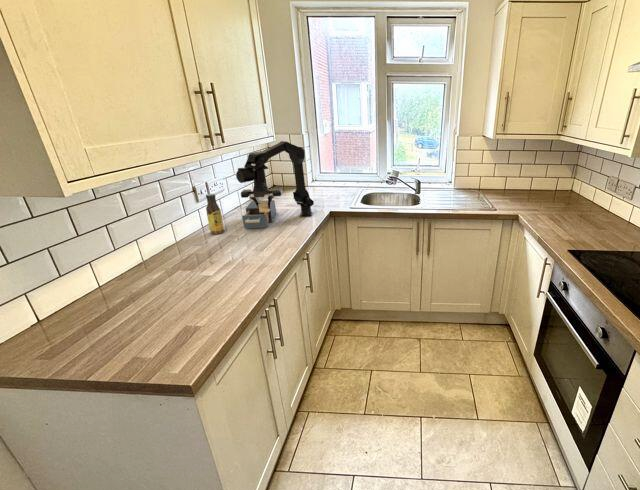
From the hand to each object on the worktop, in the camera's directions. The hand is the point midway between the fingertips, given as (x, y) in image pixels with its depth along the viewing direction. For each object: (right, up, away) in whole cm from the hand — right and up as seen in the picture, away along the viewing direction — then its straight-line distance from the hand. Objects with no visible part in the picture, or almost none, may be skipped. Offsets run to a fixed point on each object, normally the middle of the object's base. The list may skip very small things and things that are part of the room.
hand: (264, 209), depth 162 cm
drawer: (-7, -8, +7) cm, 12 cm away
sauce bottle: (-23, -12, -1) cm, 26 cm away
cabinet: (-9, -4, +19) cm, 22 cm away
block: (0, -1, 0) cm, 1 cm away
